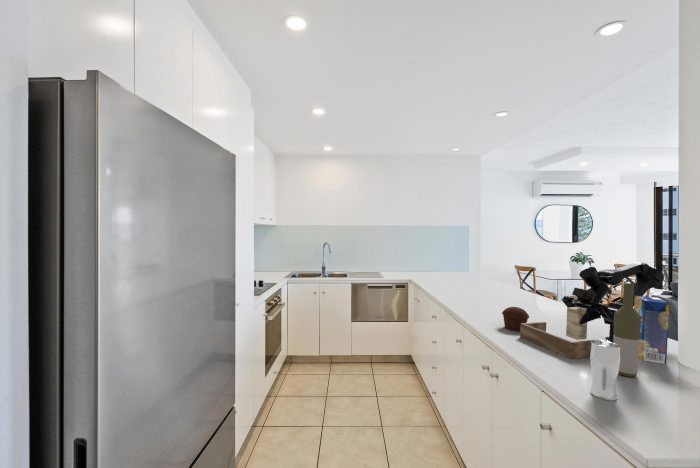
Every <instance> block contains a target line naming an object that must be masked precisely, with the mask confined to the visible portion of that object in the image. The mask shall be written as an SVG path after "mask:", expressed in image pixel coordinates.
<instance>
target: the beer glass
mask: <svg viewBox="0 0 700 468" xmlns="http://www.w3.org/2000/svg"><path fill="white" fill-rule="evenodd" d="M591 340H592V341H591V349H590V357H589V363H590V370H591V379H592V381H591V387H590V390H589V391H590V392H589V393H590V394H591V395H592V396H594V397H595V398H598V399H601V400H604V401H605V400H606V401H612V402H613V401H616V400H617V391H616V384H617V379H618V375H619V374H618V373H619V368H620V346H619V345H618V344H616V343H613V342H611V341H608V340H604V339H603V340H602V339H591Z"/></svg>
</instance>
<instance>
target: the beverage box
mask: <svg viewBox="0 0 700 468" xmlns="http://www.w3.org/2000/svg"><path fill="white" fill-rule="evenodd" d="M633 308H634V309H635V310H636V311H637V312H638V313H639V314H640V315H641V329H640V343H639V356H638V359H640V360H641V361H644V362H645V361H646V362H651V363H659V364H665V365H666V364H667V358H668V357H667V356H668V340H669V339H668V338H669V336H668V335H669V315H670V302H668V301H667V300H666V301H665V300H663V299H662V298H659V297H654V296H644V295H643V296H635V303H634V306H633Z"/></svg>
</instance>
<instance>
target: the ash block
mask: <svg viewBox="0 0 700 468" xmlns="http://www.w3.org/2000/svg"><path fill="white" fill-rule="evenodd" d="M586 312H587V309H584V308H581V307H579V308H578V307H569V308H568V307H567V308H566V326H565V327H566V328H565V329H566V331H565V336H566V337H568V338H571V339H574V340H576V341H583V340H587V336H588V333H587V332H588V322H587V323H584V324H582V325H581V324H580V323H579V322H580V320H581V319H582V317H583V316H584V315H585V313H586Z"/></svg>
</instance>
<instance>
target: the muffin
mask: <svg viewBox="0 0 700 468" xmlns="http://www.w3.org/2000/svg"><path fill="white" fill-rule="evenodd" d="M501 314H502V316H503V323H504V328H505V329H507V330H508V331H512V332H519V333H520V326H521V323H528V319H530V315H529V314H528V312H527V311H526V310H524V309H523V308H521V307H519V306H518V307H517V306H508V307H507V308H504V310H503V311H502V312H501Z"/></svg>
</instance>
